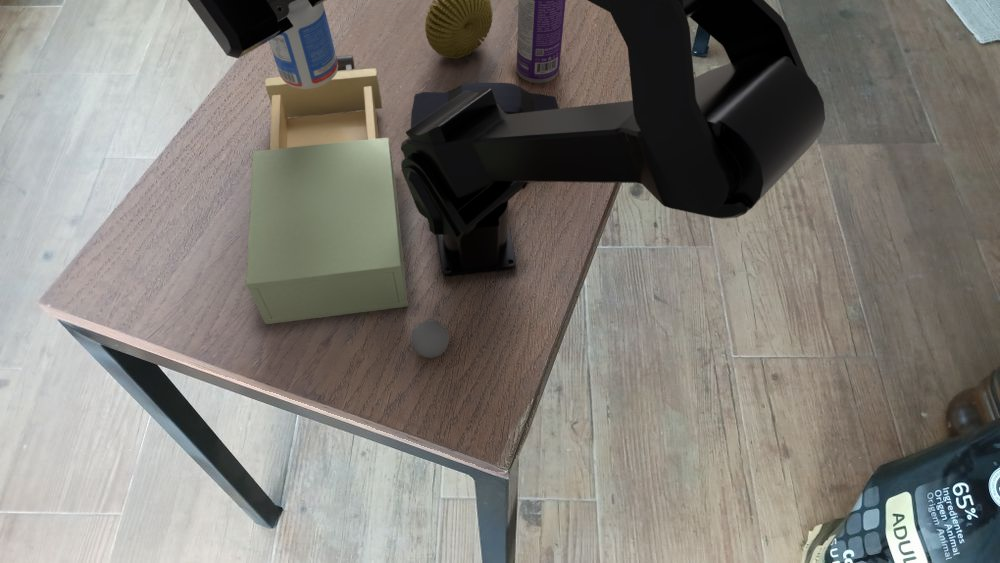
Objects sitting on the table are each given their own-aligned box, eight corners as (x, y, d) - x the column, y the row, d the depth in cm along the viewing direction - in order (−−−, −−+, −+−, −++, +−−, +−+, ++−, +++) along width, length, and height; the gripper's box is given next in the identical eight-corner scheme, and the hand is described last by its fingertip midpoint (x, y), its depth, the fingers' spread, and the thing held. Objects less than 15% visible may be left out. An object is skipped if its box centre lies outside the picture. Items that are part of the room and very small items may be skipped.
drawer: (276, 83, 76) (266, 50, 73) (379, 74, 77) (373, 40, 74) (273, 210, 66) (261, 179, 63) (390, 197, 67) (384, 166, 64)
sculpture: (478, 29, 83) (476, -35, 76) (499, 47, 81) (500, -18, 75) (420, 57, 80) (414, -8, 73) (442, 76, 78) (437, 12, 72)
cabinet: (269, 195, 68) (252, 150, 64) (395, 181, 70) (388, 136, 65) (265, 324, 60) (245, 284, 56) (408, 306, 62) (400, 266, 57)
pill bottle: (337, 50, 69) (315, -47, 61) (340, 87, 66) (317, -10, 58) (279, 57, 69) (249, -40, 61) (279, 94, 65) (248, -3, 57)
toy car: (416, 112, 75) (412, 73, 71) (557, 114, 75) (560, 76, 71) (411, 153, 72) (406, 115, 68) (558, 155, 72) (563, 117, 68)
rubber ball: (451, 361, 59) (449, 343, 56) (414, 366, 58) (411, 348, 56) (447, 330, 60) (445, 310, 58) (411, 334, 60) (408, 315, 57)
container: (562, 59, 80) (575, -73, 68) (554, 86, 78) (565, -45, 65) (521, 52, 81) (526, -80, 68) (511, 79, 78) (515, -53, 66)
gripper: (376, -239, 51) (311, -127, 64) (139, -145, 43) (121, -39, 56) (462, -88, 54) (383, -11, 67) (257, 25, 46) (214, 87, 59)
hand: (282, 3), depth 62 cm, fingers closed on pill bottle, 5 cm apart
